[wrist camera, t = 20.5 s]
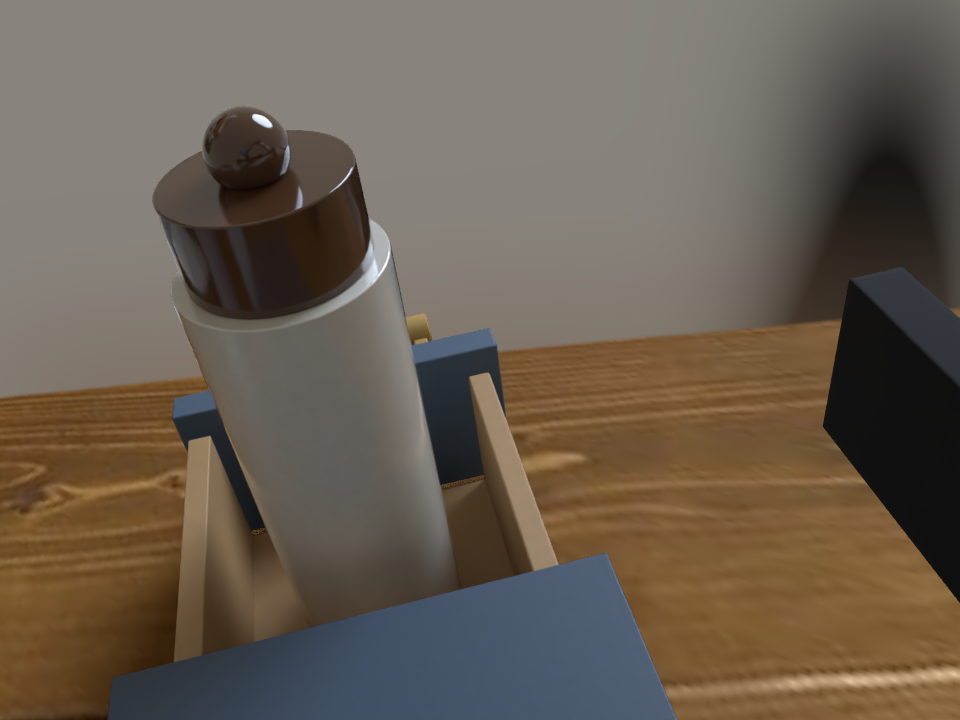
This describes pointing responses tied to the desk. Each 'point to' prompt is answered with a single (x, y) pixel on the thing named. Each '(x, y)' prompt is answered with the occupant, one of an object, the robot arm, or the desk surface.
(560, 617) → the cabinet
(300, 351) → the salt mill
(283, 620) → the drawer
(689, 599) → the desk surface
